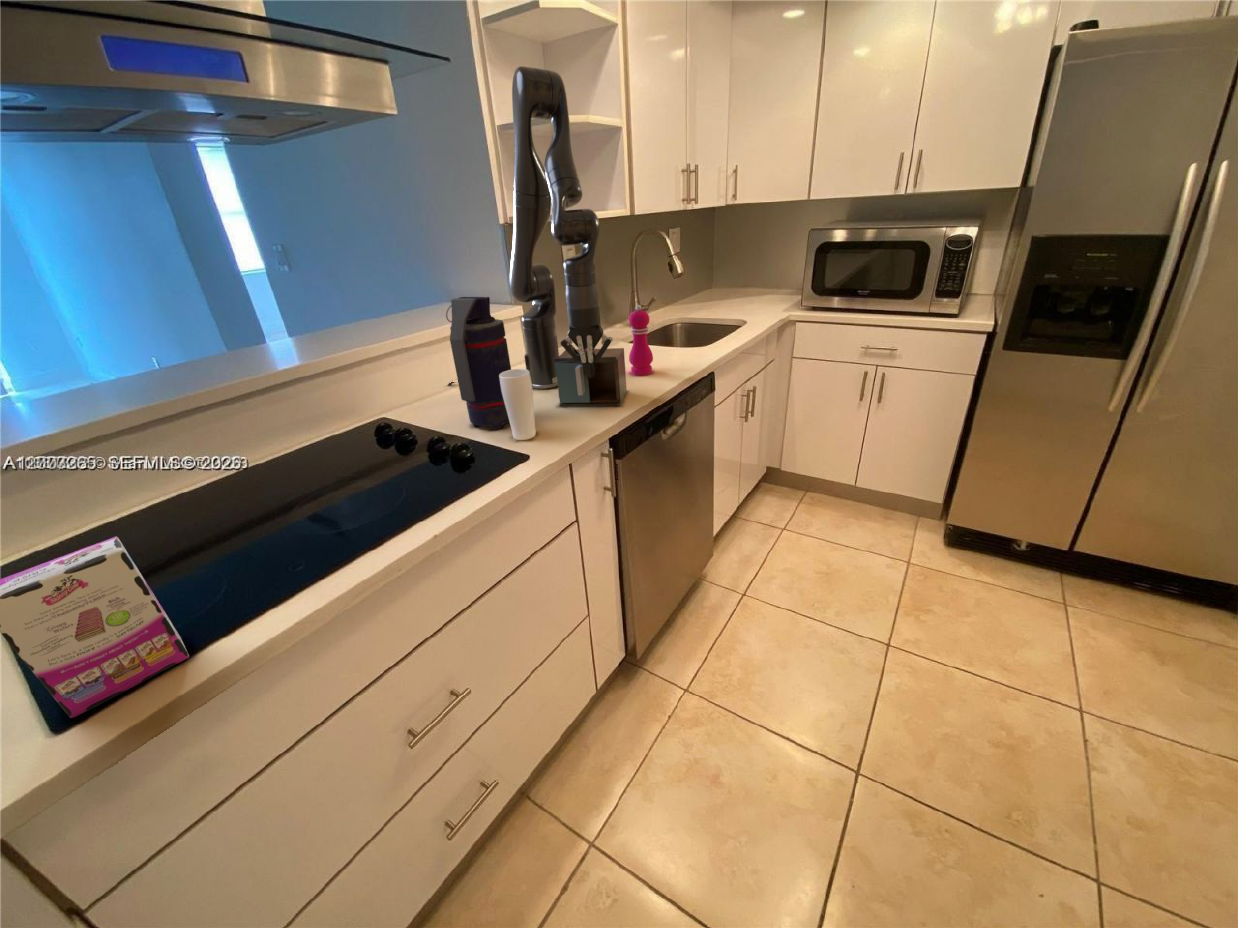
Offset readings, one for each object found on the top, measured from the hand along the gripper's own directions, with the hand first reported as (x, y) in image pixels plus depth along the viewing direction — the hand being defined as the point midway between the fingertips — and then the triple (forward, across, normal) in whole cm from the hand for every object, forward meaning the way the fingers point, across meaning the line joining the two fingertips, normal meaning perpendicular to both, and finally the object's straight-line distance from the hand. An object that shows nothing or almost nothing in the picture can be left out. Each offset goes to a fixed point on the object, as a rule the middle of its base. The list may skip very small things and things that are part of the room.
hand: (589, 376), depth 129 cm
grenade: (+9, +23, +9) cm, 27 cm away
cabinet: (+8, +1, -8) cm, 12 cm away
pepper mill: (+9, -9, -30) cm, 33 cm away
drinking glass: (+9, +12, +17) cm, 23 cm away
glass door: (+8, +5, -1) cm, 9 cm away
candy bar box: (+9, +38, +88) cm, 96 cm away
